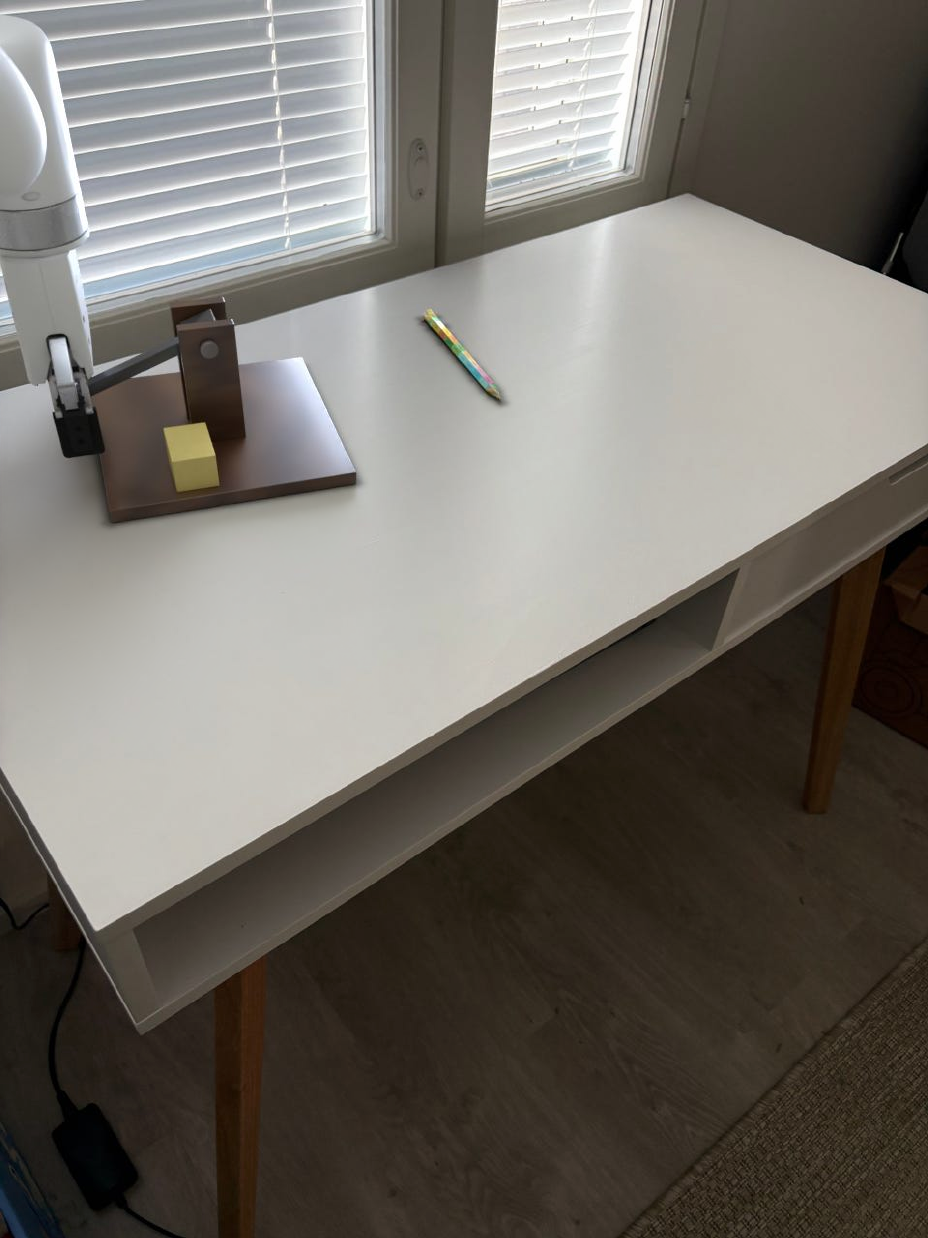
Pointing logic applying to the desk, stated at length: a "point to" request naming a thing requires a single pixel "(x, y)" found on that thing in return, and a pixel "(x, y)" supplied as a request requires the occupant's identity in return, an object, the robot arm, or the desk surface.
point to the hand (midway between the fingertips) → (79, 421)
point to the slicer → (217, 425)
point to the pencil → (461, 353)
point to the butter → (191, 457)
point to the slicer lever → (141, 360)
